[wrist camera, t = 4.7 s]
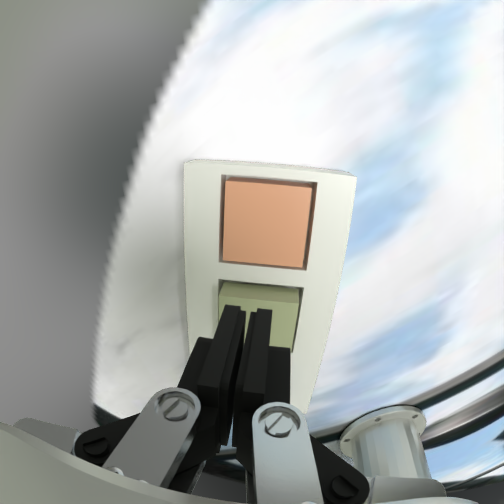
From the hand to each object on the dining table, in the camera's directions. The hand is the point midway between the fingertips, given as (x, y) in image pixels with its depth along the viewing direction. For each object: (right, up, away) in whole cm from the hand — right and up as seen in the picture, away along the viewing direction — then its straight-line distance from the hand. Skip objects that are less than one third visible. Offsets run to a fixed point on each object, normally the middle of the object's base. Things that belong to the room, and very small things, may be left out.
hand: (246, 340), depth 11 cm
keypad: (+1, -1, +16) cm, 16 cm away
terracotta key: (+1, +6, +12) cm, 14 cm away
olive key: (+1, -2, +14) cm, 14 cm away
